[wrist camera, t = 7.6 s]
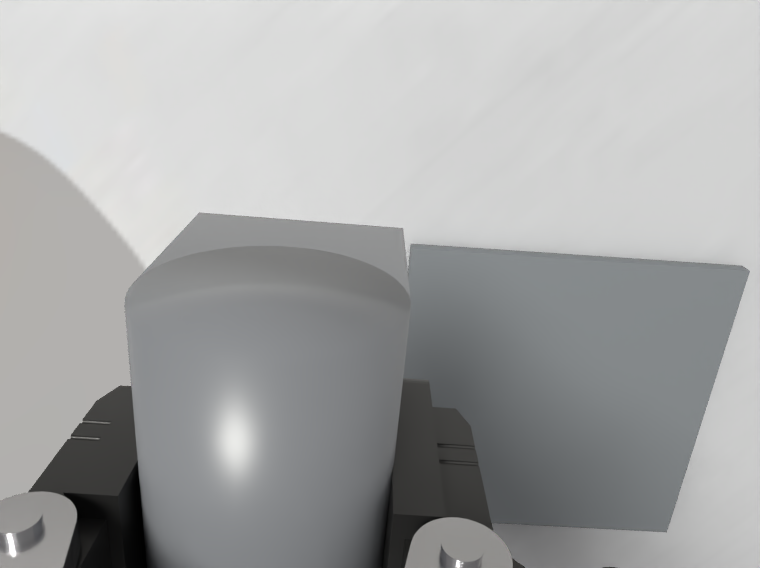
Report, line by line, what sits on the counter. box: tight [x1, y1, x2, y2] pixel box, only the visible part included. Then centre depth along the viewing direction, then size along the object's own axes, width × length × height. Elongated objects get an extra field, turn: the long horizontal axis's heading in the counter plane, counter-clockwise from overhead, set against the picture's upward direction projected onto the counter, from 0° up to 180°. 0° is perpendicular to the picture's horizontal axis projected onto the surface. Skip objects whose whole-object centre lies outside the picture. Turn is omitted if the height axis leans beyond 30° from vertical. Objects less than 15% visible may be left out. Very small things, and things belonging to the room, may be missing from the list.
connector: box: [125, 213, 411, 568], centre depth 10 cm, size 4×8×5 cm, turn 176°
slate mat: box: [403, 244, 750, 532], centre depth 29 cm, size 14×14×1 cm
